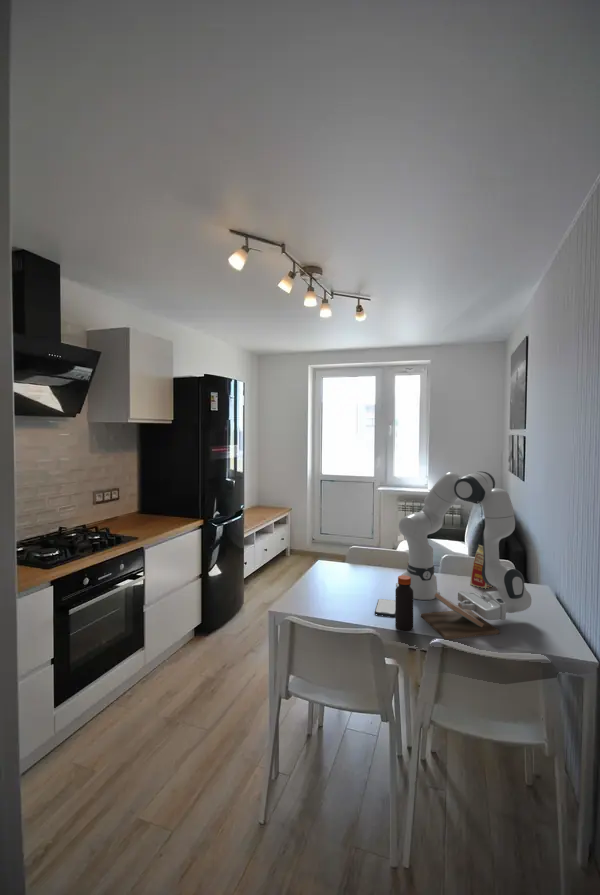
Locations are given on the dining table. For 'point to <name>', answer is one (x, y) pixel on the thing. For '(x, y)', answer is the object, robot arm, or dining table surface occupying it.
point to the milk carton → (478, 570)
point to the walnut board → (457, 625)
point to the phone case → (385, 607)
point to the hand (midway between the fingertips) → (460, 606)
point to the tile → (459, 610)
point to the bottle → (404, 604)
